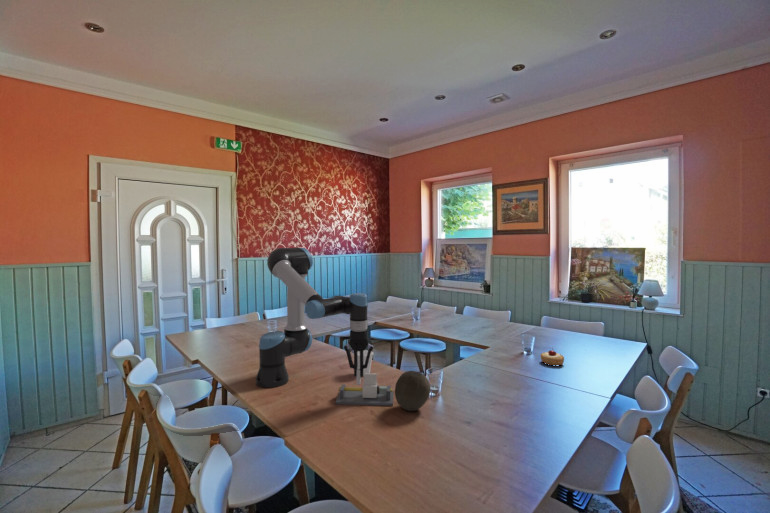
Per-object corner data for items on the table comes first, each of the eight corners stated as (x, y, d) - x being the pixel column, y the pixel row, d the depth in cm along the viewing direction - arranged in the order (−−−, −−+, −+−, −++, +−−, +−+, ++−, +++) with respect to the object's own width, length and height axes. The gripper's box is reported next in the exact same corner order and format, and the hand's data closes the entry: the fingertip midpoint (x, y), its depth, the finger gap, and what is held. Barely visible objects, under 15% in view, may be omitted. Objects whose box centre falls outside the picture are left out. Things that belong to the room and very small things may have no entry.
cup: (370, 378, 178) (370, 356, 177) (351, 376, 180) (351, 355, 179) (375, 371, 188) (375, 350, 187) (357, 369, 190) (357, 349, 189)
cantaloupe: (420, 420, 136) (420, 381, 135) (388, 411, 143) (388, 374, 143) (435, 406, 148) (435, 370, 147) (405, 398, 155) (405, 364, 155)
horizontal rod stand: (335, 404, 149) (335, 390, 149) (340, 392, 161) (340, 379, 161) (392, 405, 148) (392, 392, 148) (393, 393, 160) (393, 381, 160)
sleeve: (362, 397, 152) (362, 375, 152) (363, 392, 157) (363, 371, 157) (376, 398, 152) (376, 376, 151) (377, 393, 157) (377, 371, 156)
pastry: (541, 366, 198) (540, 350, 198) (540, 359, 209) (540, 344, 209) (565, 368, 193) (564, 352, 193) (563, 361, 204) (563, 346, 204)
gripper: (342, 331, 150) (342, 386, 151) (373, 331, 149) (372, 387, 150) (345, 327, 158) (345, 380, 158) (374, 327, 157) (374, 380, 158)
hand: (358, 383), depth 154 cm, fingers closed
